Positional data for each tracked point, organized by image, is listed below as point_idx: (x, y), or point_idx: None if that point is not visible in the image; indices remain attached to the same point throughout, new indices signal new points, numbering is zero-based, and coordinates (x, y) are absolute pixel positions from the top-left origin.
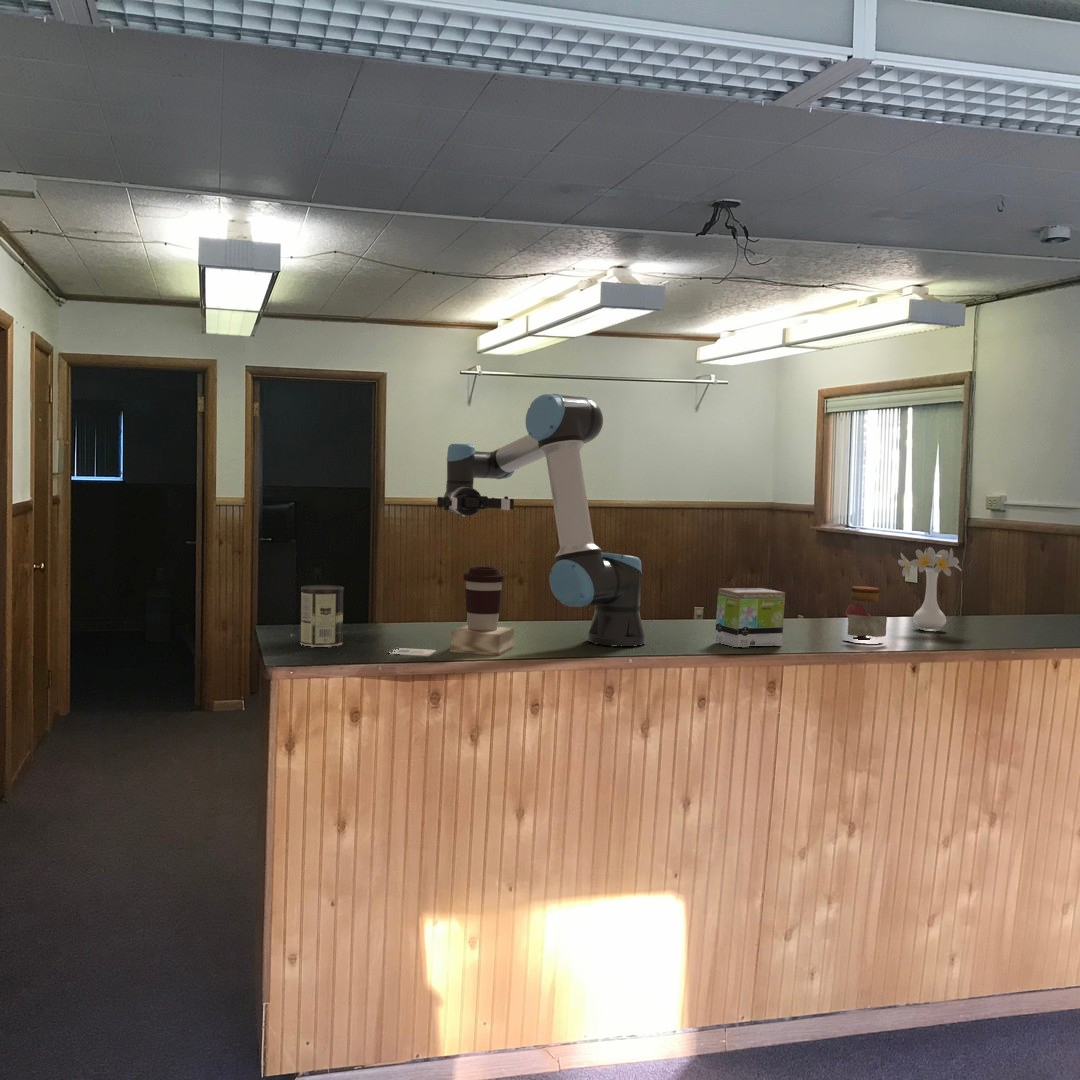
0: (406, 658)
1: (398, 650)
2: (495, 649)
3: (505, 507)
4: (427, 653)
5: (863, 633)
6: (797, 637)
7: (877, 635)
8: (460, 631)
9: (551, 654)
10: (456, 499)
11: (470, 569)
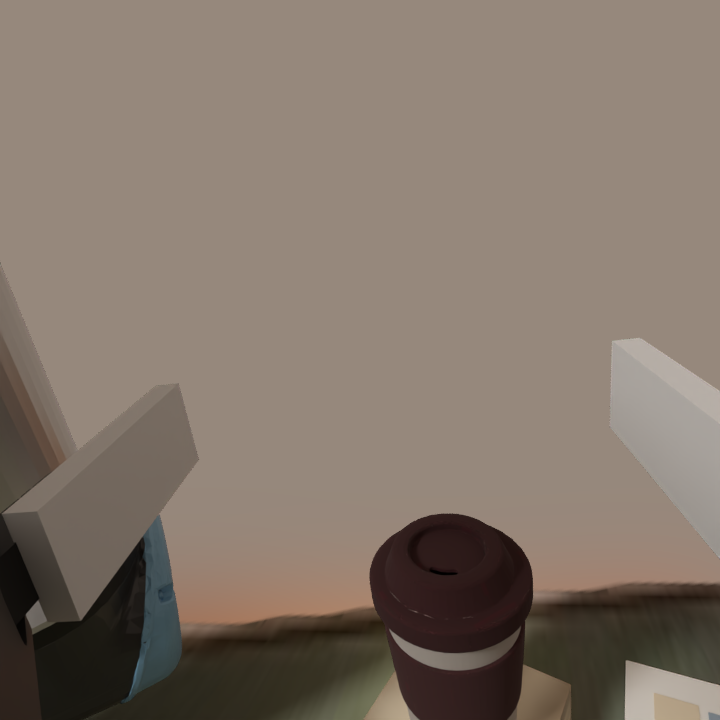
0: (681, 639)
1: None
2: None
3: (175, 466)
4: (637, 689)
5: None
6: None
7: None
8: (539, 675)
9: (286, 678)
10: (618, 350)
11: (503, 544)
